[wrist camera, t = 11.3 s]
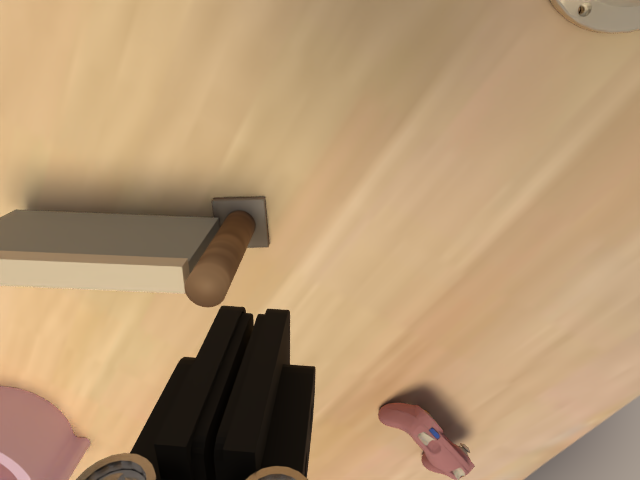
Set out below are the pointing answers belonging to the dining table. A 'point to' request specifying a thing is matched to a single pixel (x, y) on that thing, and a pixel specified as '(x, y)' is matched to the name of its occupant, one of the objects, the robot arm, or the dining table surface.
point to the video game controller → (428, 439)
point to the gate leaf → (101, 250)
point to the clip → (36, 438)
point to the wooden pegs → (227, 248)
